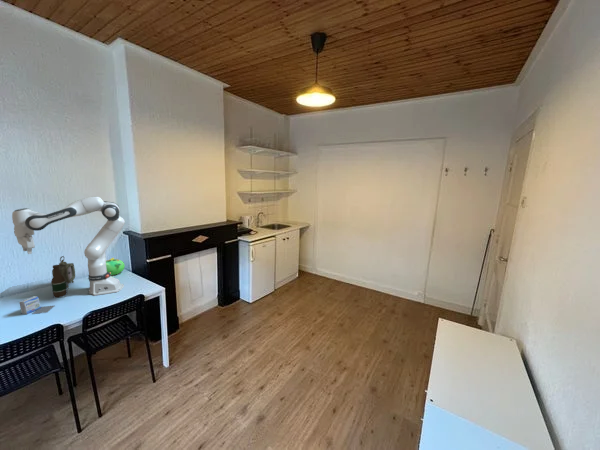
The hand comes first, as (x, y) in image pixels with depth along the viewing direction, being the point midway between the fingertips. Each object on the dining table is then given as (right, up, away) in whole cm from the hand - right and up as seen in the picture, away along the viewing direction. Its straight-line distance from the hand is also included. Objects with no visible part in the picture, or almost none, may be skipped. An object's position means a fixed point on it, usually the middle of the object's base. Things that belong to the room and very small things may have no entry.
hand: (27, 252), depth 173 cm
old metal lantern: (-4, -31, +33) cm, 45 cm away
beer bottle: (+6, -35, +18) cm, 39 cm away
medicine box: (+7, -39, -4) cm, 40 cm away
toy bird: (+16, -27, +58) cm, 66 cm away
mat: (+13, -39, -2) cm, 41 cm away
